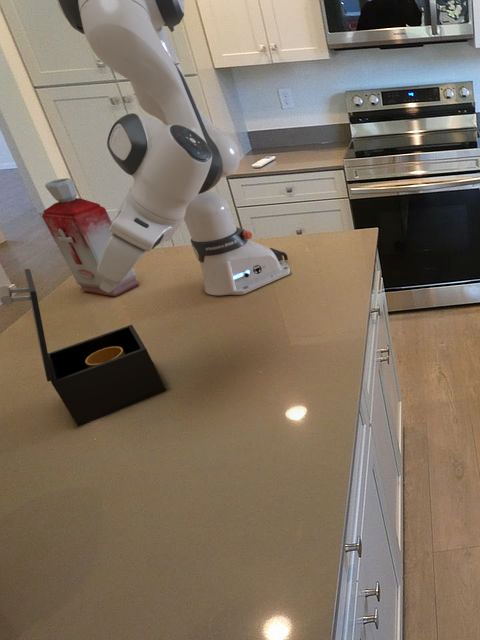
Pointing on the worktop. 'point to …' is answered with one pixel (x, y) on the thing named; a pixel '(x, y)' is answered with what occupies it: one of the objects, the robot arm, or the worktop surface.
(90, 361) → the golden yellow cup
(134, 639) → the worktop surface
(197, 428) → the worktop surface
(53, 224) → the bottle
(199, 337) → the worktop surface
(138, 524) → the worktop surface
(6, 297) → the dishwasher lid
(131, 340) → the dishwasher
